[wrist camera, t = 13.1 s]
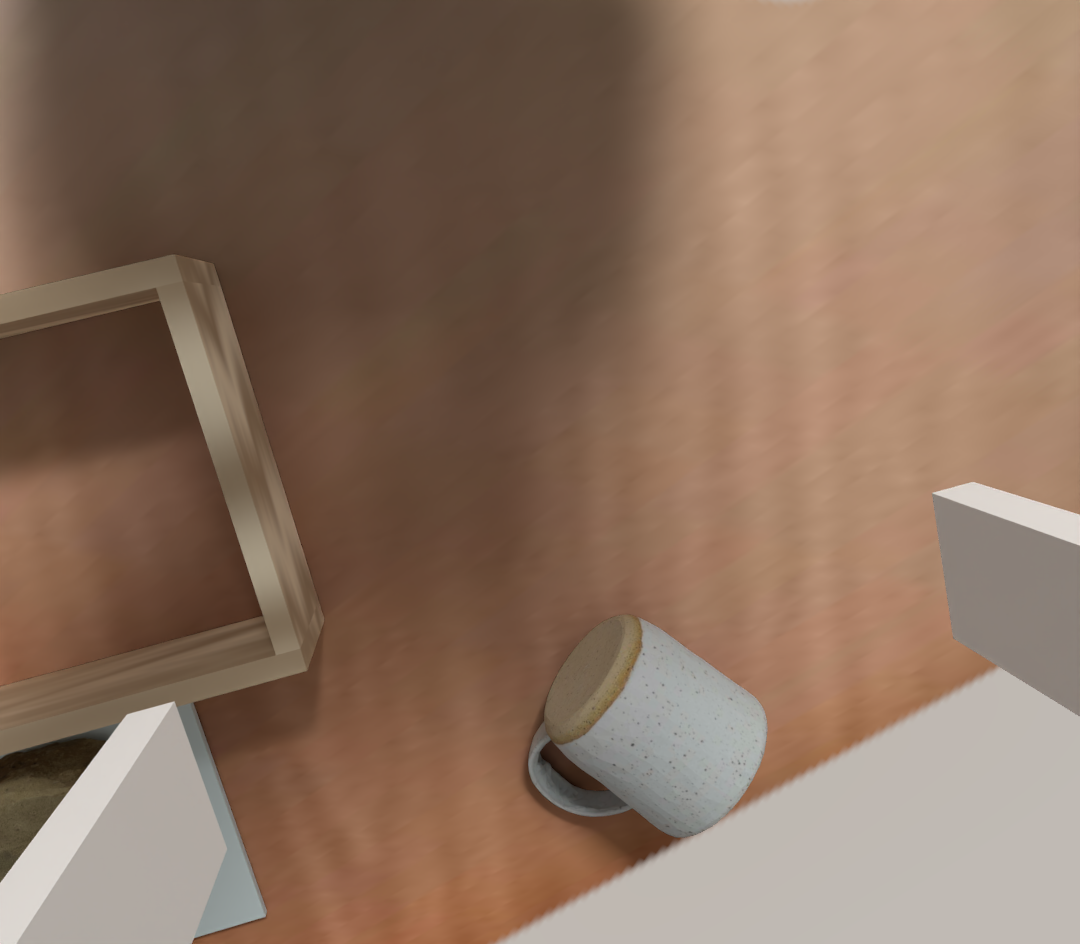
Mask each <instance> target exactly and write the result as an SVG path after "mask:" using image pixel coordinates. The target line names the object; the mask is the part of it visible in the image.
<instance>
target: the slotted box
mask: <svg viewBox="0 0 1080 944" xmlns="http://www.w3.org/2000/svg"><path fill="white" fill-rule="evenodd" d="M157 301H160V302H161V305H162V308H163V311H164V314H165V317H166V320H167V323H168V326H169V329H170V332H171V335H172V339H173V342H174V345H175V348H176V351H177V354H178V357H179V360H180V363H181V366H182V369H183V372H184V375H185V378H186V381H187V384H188V387H189V391H190V394H191V397H192V400H193V403H194V406H195V409H196V412H197V415H198V418H199V421H200V424H201V427H202V430H203V433H204V436H205V440H206V443H207V446H208V449H209V452H210V455H211V458H212V461H213V464H214V467H215V470H216V473H217V476H218V479H219V482H220V485H221V488H222V492H223V495H224V498H225V501H226V504H227V507H228V510H229V513H230V516H231V519H232V522H233V525H234V528H235V531H236V534H237V537H238V541H239V544H240V547H241V550H242V553H243V556H244V559H245V562H246V565H247V568H248V571H249V574H250V577H251V580H252V583H253V586H254V589H255V593H256V596H257V599H258V602H259V605H260V608H261V611H262V614H263V616H260V617H256V618H252V619H249V620H245V621H241V622H238V623H234V624H230V625H226V626H223V627H219V628H215V629H212V630H208V631H204V632H201V633H197V634H193V635H189V636H186V637H182V638H178V639H175V640H171V641H167V642H163V643H160V644H156V645H152V646H149V647H145V648H141V649H138V650H134V651H130V652H126V653H123V654H119V655H115V656H112V657H108V658H104V659H100V660H97V661H93V662H89V663H86V664H82V665H78V666H74V667H71V668H67V669H63V670H60V671H56V672H52V673H49V674H45V675H41V676H37V677H34V678H30V679H26V680H23V681H19V682H15V683H11V684H8V685H4V686H0V756H1V755H4V754H8V753H12V752H15V751H19V750H23V749H26V748H30V747H33V746H37V745H41V744H44V743H48V742H52V741H55V740H59V739H62V738H66V737H70V736H73V735H77V734H80V733H84V732H88V731H91V730H95V729H99V728H102V727H106V726H109V725H113V724H117V723H120V722H122V720H123V719H124V718H125V716H126V715H127V714H130V713H134V712H138V711H141V710H145V709H148V708H152V707H156V706H159V705H163V704H167V703H170V702H174V701H175V704H176V707H178V706H182V705H186V704H189V703H193V702H196V701H200V700H204V699H207V698H211V697H214V696H218V695H222V694H225V693H229V692H233V691H236V690H240V689H243V688H247V687H251V686H254V685H258V684H262V683H265V682H269V681H272V680H276V679H280V678H283V677H287V676H291V675H294V674H298V673H301V672H305V671H308V668H309V665H310V662H311V659H312V656H313V653H314V650H315V647H316V644H317V641H318V638H319V635H320V632H321V629H322V626H323V623H324V616H323V613H322V610H321V607H320V604H319V600H318V597H317V594H316V591H315V587H314V584H313V581H312V578H311V575H310V571H309V568H308V565H307V562H306V559H305V555H304V552H303V549H302V546H301V542H300V539H299V536H298V533H297V530H296V526H295V523H294V520H293V517H292V514H291V510H290V507H289V504H288V501H287V497H286V494H285V491H284V488H283V485H282V481H281V478H280V475H279V472H278V469H277V465H276V462H275V459H274V456H273V452H272V449H271V446H270V443H269V440H268V436H267V433H266V430H265V427H264V424H263V420H262V417H261V414H260V411H259V407H258V404H257V401H256V398H255V395H254V391H253V388H252V385H251V382H250V379H249V375H248V372H247V369H246V366H245V362H244V359H243V356H242V353H241V350H240V346H239V343H238V340H237V337H236V334H235V330H234V327H233V324H232V321H231V317H230V314H229V311H228V308H227V305H226V301H225V298H224V295H223V292H222V288H221V285H220V282H219V279H218V276H217V272H216V269H215V266H214V263H210V262H206V261H201V260H197V259H193V258H189V257H185V256H180V255H176V254H172V255H168V256H164V257H159V258H155V259H151V260H147V261H142V262H138V263H134V264H129V265H125V266H121V267H117V268H112V269H108V270H104V271H100V272H95V273H91V274H87V275H82V276H78V277H74V278H70V279H65V280H61V281H57V282H53V283H48V284H44V285H40V286H35V287H31V288H27V289H23V290H18V291H14V292H10V293H6V294H1V295H0V339H1V338H5V337H10V336H14V335H18V334H22V333H26V332H31V331H35V330H39V329H43V328H47V327H52V326H56V325H60V324H64V323H68V322H73V321H77V320H81V319H85V318H89V317H94V316H98V315H102V314H106V313H110V312H115V311H119V310H123V309H127V308H131V307H136V306H140V305H144V304H148V303H152V302H157Z"/></svg>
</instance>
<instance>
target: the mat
mask: <svg viewBox="0 0 1080 944" xmlns="http://www.w3.org/2000/svg"><path fill="white" fill-rule="evenodd" d="M177 710H178V712H179V715H180V718H181V721H182V724H183V726H184V729H185V732H186V735H187V738H188V740H189V743H190V746H191V749H192V752H193V754H194V757H195V760H196V763H197V766H198V768H199V771H200V774H201V777H202V780H203V782H204V785H205V788H206V791H207V794H208V796H209V799H210V802H211V805H212V808H213V810H214V813H215V816H216V819H217V822H218V824H219V827H220V830H221V833H222V836H223V838H224V841H225V844H226V847H227V851H226V854H225V856H224V859H223V862H222V864H221V867H220V870H219V872H218V875H217V878H216V880H215V883H214V886H213V888H212V891H211V894H210V896H209V899H208V902H207V904H206V907H205V910H204V912H203V915H202V918H201V920H200V923H199V926H198V928H197V931H196V934H195V936H194V938H196V937H199V936H203V935H206V934H209V933H213V932H216V931H219V930H223V929H226V928H230V927H233V926H236V925H240V924H243V923H246V922H250V921H253V920H256V919H260V918H263V917H266V913H267V910H266V907H265V904H264V901H263V899H262V896H261V893H260V890H259V887H258V884H257V882H256V879H255V876H254V873H253V870H252V867H251V865H250V862H249V859H248V856H247V853H246V850H245V848H244V845H243V842H242V839H241V836H240V833H239V831H238V828H237V825H236V822H235V819H234V816H233V814H232V811H231V808H230V805H229V802H228V799H227V797H226V794H225V791H224V788H223V785H222V782H221V780H220V777H219V774H218V771H217V768H216V765H215V763H214V760H213V757H212V754H211V751H210V748H209V746H208V743H207V740H206V737H205V734H204V731H203V729H202V726H201V723H200V720H199V717H198V714H197V712H196V709H195V706H194V703H189V704H186V705H182V706H178V707H177ZM120 723H121V722H120ZM120 723H117V724H113V725H109V726H106V727H102V728H99V729H95V730H91V731H88V732H84V733H80V734H77V735H73V736H70V737H66V738H62V739H59V740H55V741H52V742H48V743H44V744H41V745H37V746H33V747H30V748H26V749H23V750H19V751H15V752H27V751H30V750H34V749H39V748H42V747H44V746H47V745H49V744H53V743H56V742H61V743H62V742H66V741H70V740H74V739H79V738H87V739H89V738H91V739H95V740H108V739H109V737H110V736H111V735H112V733H113V732H114V731H115V730H116V728H117V727H118V726H119V724H120ZM15 752H12V753H15ZM8 754H11V753H8ZM8 754H4V755H1V756H0V759H1V758H3V757H4V756H5V755H8Z"/></svg>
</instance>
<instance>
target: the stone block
mask: <svg viewBox="0 0 1080 944" xmlns="http://www.w3.org/2000/svg"><path fill="white" fill-rule="evenodd" d="M106 741H107V740H95V739H91V738H89V739H87V738H79V739H74V740H70V741H66V742H62V743H61V742H56V743H53V744H49V745H47V746H44V747H42V748H39V749H34V750H30V751H27V752H15V753H11V754H8V755H5V756H4V757H3V758H1V759H0V883H1V881H2V880H3V879H4V877H5V876H6V875H7V873H8V872H9V871H10V869H11V868H12V867H13V865H14V864H15V863H16V861H17V860H18V859H19V857H20V856H21V855H22V853H23V852H24V851H25V849H26V848H27V847H28V845H29V844H30V843H31V841H32V840H33V839H34V837H35V836H36V835H37V833H38V832H39V831H40V829H41V828H42V827H43V825H44V824H45V823H46V821H47V820H48V819H49V817H50V816H51V815H52V813H53V812H54V811H55V809H56V808H57V807H58V805H59V804H60V803H61V801H62V800H63V799H64V797H65V796H66V795H67V793H68V792H69V791H70V789H71V788H72V787H73V785H74V784H75V783H76V781H77V780H78V779H79V777H80V776H81V775H82V773H83V772H84V771H85V769H86V768H87V767H88V765H89V764H90V763H91V761H92V760H93V759H94V757H95V756H96V755H97V753H98V752H99V751H100V749H101V748H102V747H103V745H104V744H105V743H106Z"/></svg>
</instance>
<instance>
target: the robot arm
mask: <svg viewBox="0 0 1080 944" xmlns="http://www.w3.org/2000/svg"><path fill="white" fill-rule="evenodd" d="M932 497H933V503H934V510H935V517H936V524H937V531H938V537H939V544H940V551H941V558H942V565H943V571H944V578H945V585H946V592H947V599H948V605H949V612H950V619H951V626H952V633H953V638H954V639H955V640H957V641H958V642H960V643H962V644H963V645H965V646H967V647H968V648H970V649H971V650H973V651H975V652H976V653H978V654H979V655H981V656H983V657H984V658H986V659H988V660H989V661H991V662H992V663H994V664H996V665H997V666H999V667H1001V668H1002V669H1004V670H1005V671H1007V672H1009V673H1010V674H1012V675H1014V676H1015V677H1017V678H1018V679H1020V680H1022V681H1023V682H1025V683H1026V684H1028V685H1030V686H1031V687H1033V688H1035V689H1036V690H1038V691H1040V692H1041V693H1043V694H1044V695H1046V696H1048V697H1049V698H1051V699H1053V700H1054V701H1056V702H1057V703H1059V704H1061V705H1062V706H1064V707H1065V708H1067V709H1069V710H1070V711H1072V712H1073V713H1075V714H1077V715H1078V716H1080V515H1079V514H1076V513H1072V512H1069V511H1066V510H1063V509H1059V508H1056V507H1053V506H1050V505H1046V504H1043V503H1040V502H1037V501H1033V500H1030V499H1027V498H1024V497H1020V496H1017V495H1014V494H1011V493H1007V492H1004V491H1001V490H998V489H994V488H991V487H988V486H985V485H981V484H978V483H975V482H971V483H967V484H963V485H960V486H956V487H953V488H949V489H945V490H942V491H938V492H934V493H932ZM226 851H227V847H226V844H225V841H224V838H223V836H222V833H221V830H220V827H219V824H218V822H217V819H216V816H215V813H214V810H213V808H212V805H211V802H210V799H209V796H208V794H207V791H206V788H205V785H204V782H203V780H202V777H201V774H200V771H199V768H198V766H197V763H196V760H195V757H194V754H193V752H192V749H191V746H190V743H189V740H188V738H187V735H186V732H185V729H184V726H183V724H182V721H181V718H180V715H179V712H178V710H177V707H176V704H175V701H174V702H170V703H167V704H163V705H159V706H156V707H152V708H148V709H145V710H141V711H138V712H134V713H130V714H127V715H126V716H125V718H124V719H123V720H122V722H121V723H120V724H119V726H118V727H117V728H116V730H115V731H114V732H113V733H112V735H111V736H110V737H109V739H108V740H107V741H106V743H105V744H104V745H103V747H102V748H101V749H100V751H99V752H98V753H97V755H96V756H95V757H94V759H93V760H92V761H91V763H90V764H89V765H88V767H87V768H86V769H85V771H84V772H83V773H82V775H81V776H80V777H79V779H78V780H77V781H76V783H75V784H74V785H73V787H72V788H71V789H70V791H69V792H68V793H67V795H66V796H65V797H64V799H63V800H62V801H61V803H60V804H59V805H58V807H57V808H56V809H55V811H54V812H53V813H52V815H51V816H50V817H49V819H48V820H47V821H46V823H45V824H44V825H43V827H42V828H41V829H40V831H39V832H38V833H37V835H36V836H35V837H34V839H33V840H32V841H31V843H30V844H29V845H28V847H27V848H26V849H25V851H24V852H23V853H22V855H21V856H20V857H19V859H18V860H17V861H16V863H15V864H14V865H13V867H12V868H11V869H10V871H9V872H8V873H7V875H6V876H5V877H4V879H3V880H2V881H1V883H0V944H192V942H193V939H194V936H195V934H196V931H197V928H198V926H199V923H200V920H201V918H202V915H203V912H204V910H205V907H206V904H207V902H208V899H209V896H210V894H211V891H212V888H213V886H214V883H215V880H216V878H217V875H218V872H219V870H220V867H221V864H222V862H223V859H224V856H225V854H226Z"/></svg>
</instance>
